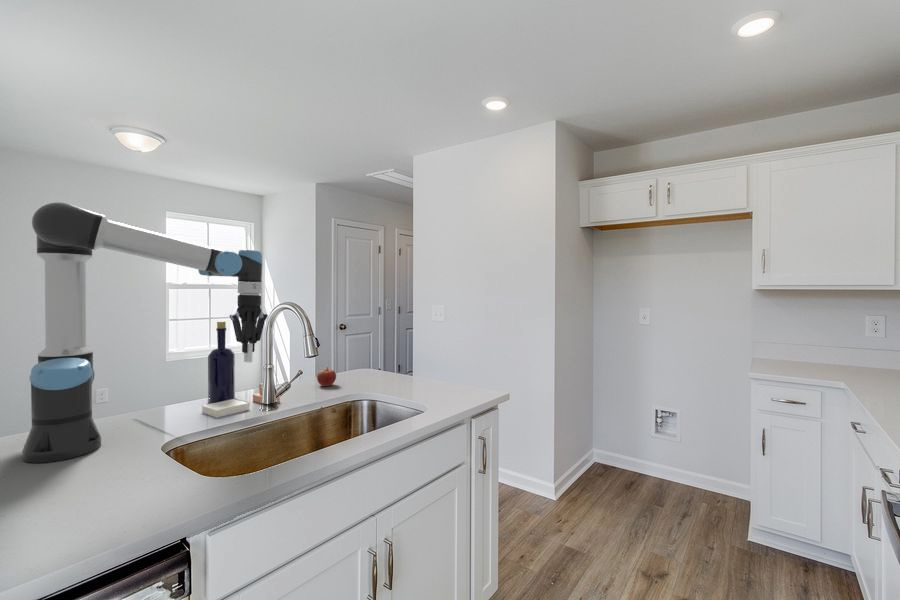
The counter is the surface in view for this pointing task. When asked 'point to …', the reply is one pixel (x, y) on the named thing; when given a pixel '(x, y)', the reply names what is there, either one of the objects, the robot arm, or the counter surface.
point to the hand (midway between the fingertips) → (248, 361)
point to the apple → (326, 377)
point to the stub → (259, 396)
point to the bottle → (221, 369)
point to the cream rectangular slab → (225, 407)
